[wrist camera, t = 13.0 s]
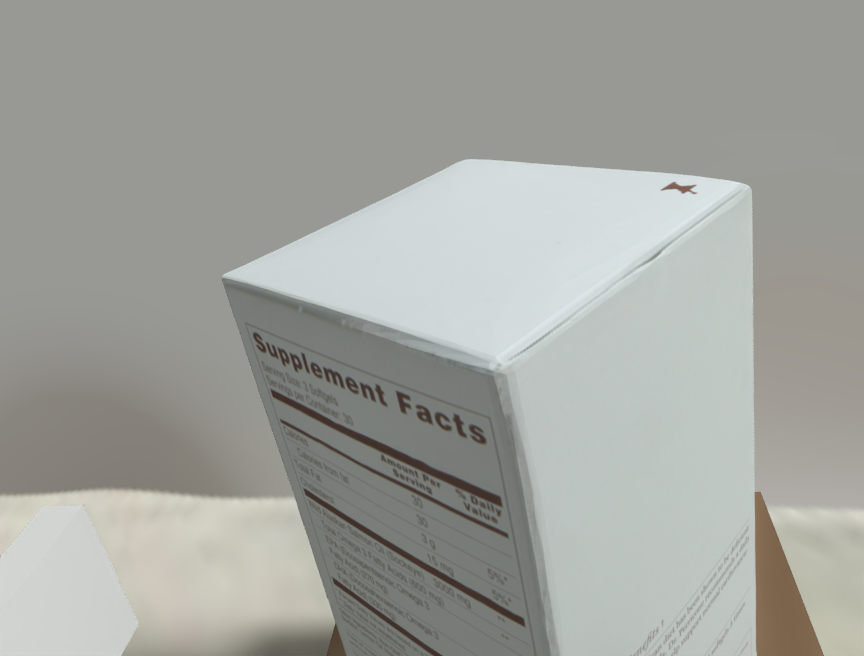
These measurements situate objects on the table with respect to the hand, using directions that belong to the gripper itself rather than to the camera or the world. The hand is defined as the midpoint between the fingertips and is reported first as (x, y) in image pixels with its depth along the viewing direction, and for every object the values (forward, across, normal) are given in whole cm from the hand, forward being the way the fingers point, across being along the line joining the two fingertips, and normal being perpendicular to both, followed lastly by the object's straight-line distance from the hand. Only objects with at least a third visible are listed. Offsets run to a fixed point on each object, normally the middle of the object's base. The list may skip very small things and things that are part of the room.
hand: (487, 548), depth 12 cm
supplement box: (+5, 0, -9) cm, 10 cm away
